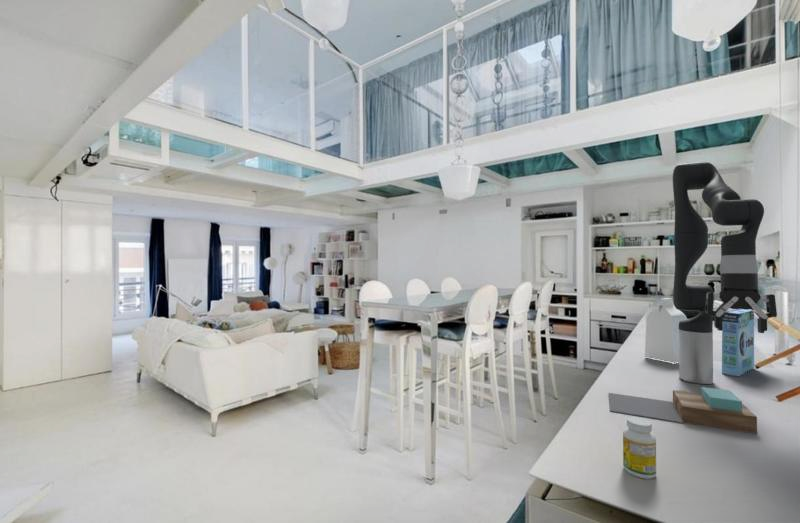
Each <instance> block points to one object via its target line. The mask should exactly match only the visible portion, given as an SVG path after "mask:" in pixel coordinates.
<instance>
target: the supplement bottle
mask: <svg viewBox="0 0 800 523" xmlns="http://www.w3.org/2000/svg"><path fill="white" fill-rule="evenodd" d="M626 426H627V427H625V429H624V430H623V431H622V446H623V447H622V448H623V449H622V453H623V454H622V460H623V461H622V462H623V468H624V470H625V471H626V472H627V473H629V474H630V475H632V476H635V477H637V478H641V479H648V480H649V479H650V480H651V479H654V478H655V477H656V475H657V439H656V436H655V435H654V434H653V433H652V431H653V427H652V426H653V425H652V422H651V421H649V420H647V419H645V418H643V417H638V416H634V417H633V416H630V417H629V416H628V417H627V418H626Z"/></svg>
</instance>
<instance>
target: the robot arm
mask: <svg viewBox="0 0 800 523" xmlns="http://www.w3.org/2000/svg"><path fill="white" fill-rule="evenodd" d="M672 171H673V172H672V189H673V190H672V192H673V202H674V203H673V204H674V231H673V232H674V236H673V237H674V241H673V242H674V244H673V245H674V247H673V248H674V277H673V278H674V279H673V288H672V289H673V290H672V291H673V292H672V293H673V295H672V297H673V298H672V300H673V305H674V306H675V308H676V309H678V310H680V311H687V312H688V311H690V312H691V311H692V312H698V314H697V315H695V316H694V317H690V318H687V319H686V320H682V321H680V322H679V364H678V378H679V377H680V378H681V379H680V378H679V379H680V380H682V379H683V380H682V381H685V382H689V383H693V384H694V383H695V384H700V385H701V384H702V385H711V384H713V383H714V359H713V358H714V342H713V341H714V340H713V339H714V338H713V337H714V336H713V335H714V334H713V333H714V331H713V330H714V329H713V327H715V329H717V331H721V332H722V330H723V326H722V314H723V313H724V312H727V311H729V309H732V310H736V309H745V310H748V309H749V310H752V311H753V312H754V315H756V316H757V317H758V318H757V321H756V322H757V333H759V334H765V332H767V330H768V319H769V318H776V317H777V316H778V313H777V303H776V296H775V294H773V293H766V294H760V293H759V280H758V278H759V276H758V274H759V273H758V272H759V268H758V261H757V252H756V251H757V249H756V241H757V236H758V233H759V228H760V226H761V223H762V220H763V218H764V215H765V209H764V208H765V207H764V205H763V204H762V202H761V201H759V200H758V199H756V198H755V199H750V198H749V199H748V198H746V199H742V198H741V196H740V195H739V193H738V192H736V191H735V190H734V189H733V188H731V187H730V186H728V184H727V183H726V182H725V181H724V178H723V177H722V175H721V174H720V172H719V171H718V169H717V168H716V166H715V165H714V164H712V163H711V162H706V161H700V162H688V163H687V162H686V163H678V164H677V165H676V166H675V167H674V168H673V170H672ZM695 190H702V192H701V199H702V201H703V202H704V204H706V205H707V206H708V208H710V211H711V217H712V221H713V223H715V224H717V225H719V226H723V227H724V226H742V227H741V229H740V230H739V232H736V233H729V234H726V235H723V236H722V237H721V238H720V250H721V251H720V254H721V255H720V256H721V257H720V262H719V265H720V267H719V269H720V272H719V273H720V292H719V293H714V289H713V287H712V286H711V285H709V284H697V283H695V284H693V283H690V284H689V283H687V279H688V276H689V273H690V272H691V270H692V269H693V267H694V266H695V264H696V263H697V262H698V261H699V260H700V258H701V257H702V256H703V255H704V253H705V252H706V250H707V249H708V246H709V228H708V225H707V223H706V221H705V220H704V219H703V217H701V215H700V214H699V213H698V211H696V209H695V208H694V206H693V205H692V203H691V200H690V198H689V193H688V191H695ZM718 298H719V299H720V300H721V302H722V303H721V304H720V305H719V306H718V307H717V309H716V310H714V303H715V301H717V299H718ZM760 300H762V302H763V303H765V308H766V312H764V311H763V310H762V308H761V307H760V306H759V305H758V304H757V303H759V301H760ZM713 325H714V326H713Z"/></svg>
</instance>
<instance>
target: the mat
mask: <svg viewBox="0 0 800 523" xmlns="http://www.w3.org/2000/svg"><path fill="white" fill-rule="evenodd" d="M608 402H609V411H610V413H616V414H617V413H618V414H623V415H630V416H634V417H639V418H647V419H654V420H661V421H666V422H672V423H678V424H684V423H685V422H683V420H682V418H681V416H680V415H679V413H678V411H677V409H676V408H675V406H674V404H673V401H669V400H661V399H657V398H656V399H655V398H648V397H641V396H640V397H639V396H634V395H627V394H626V395H625V394H621V393H614V392H612V393H611V392H608Z"/></svg>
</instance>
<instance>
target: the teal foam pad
mask: <svg viewBox="0 0 800 523" xmlns="http://www.w3.org/2000/svg"><path fill="white" fill-rule="evenodd" d="M700 389H701V391H700V392H701V393H700V394H702V397H703V399H704V400H705V401H706V402H707V404H708V405H709V406H710V407H712V408H719V409H726V410H733V411H740V412H742V404H743V400H741V399H740V398H739V397H738V396H736V395H735V393H734V392H733V391H731V390H729V389H720V388H714V387H713V388H712V387H704V386H701V388H700Z"/></svg>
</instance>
